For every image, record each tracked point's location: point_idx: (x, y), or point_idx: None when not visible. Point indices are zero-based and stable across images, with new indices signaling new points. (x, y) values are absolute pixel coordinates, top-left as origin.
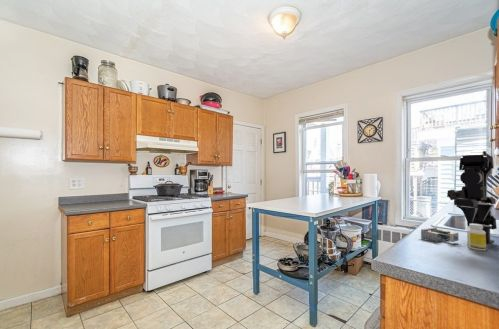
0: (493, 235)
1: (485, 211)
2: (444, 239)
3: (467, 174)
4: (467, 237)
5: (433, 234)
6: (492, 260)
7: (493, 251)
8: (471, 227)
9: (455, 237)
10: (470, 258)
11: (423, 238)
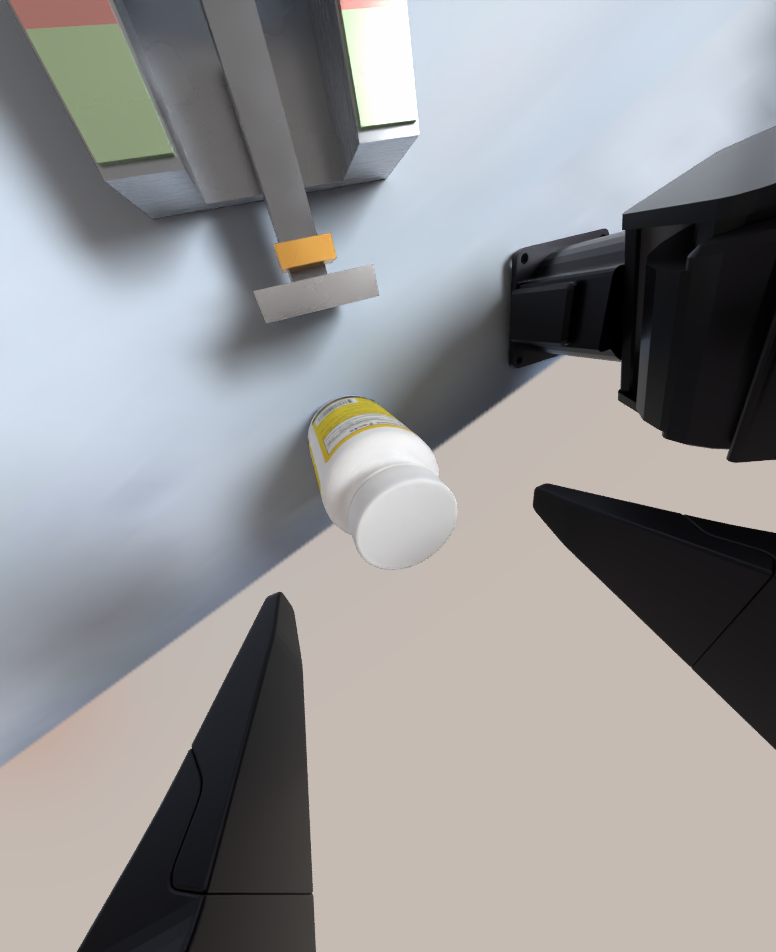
0: None
1: (663, 621)
2: None
3: None
4: (330, 427)
5: (69, 103)
6: (241, 584)
7: None
8: (351, 510)
9: (315, 311)
10: (137, 572)
11: None
